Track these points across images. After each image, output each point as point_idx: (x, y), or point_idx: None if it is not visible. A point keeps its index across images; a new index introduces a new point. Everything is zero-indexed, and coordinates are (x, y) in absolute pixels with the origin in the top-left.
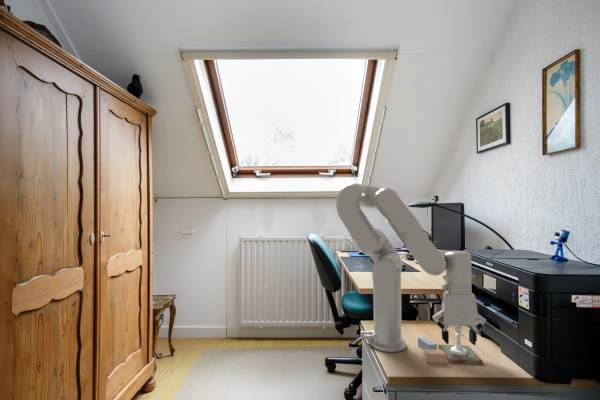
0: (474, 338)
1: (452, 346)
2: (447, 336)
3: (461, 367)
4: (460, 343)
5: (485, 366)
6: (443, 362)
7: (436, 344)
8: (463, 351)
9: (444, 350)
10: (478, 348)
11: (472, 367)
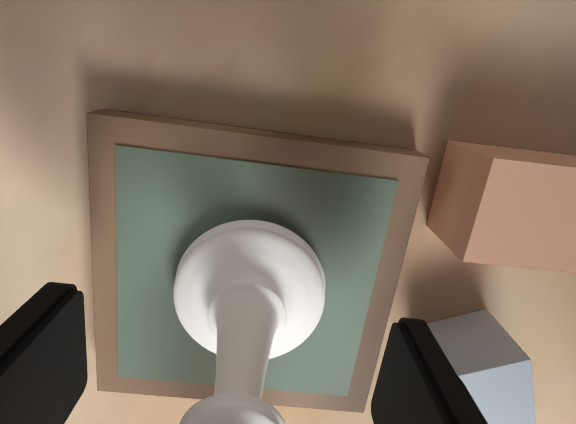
0: (7, 339)
1: None
2: (450, 388)
3: (344, 57)
4: (230, 329)
5: (91, 70)
6: (473, 145)
7: None
8: (225, 251)
9: (371, 316)
10: None
11: (233, 53)
